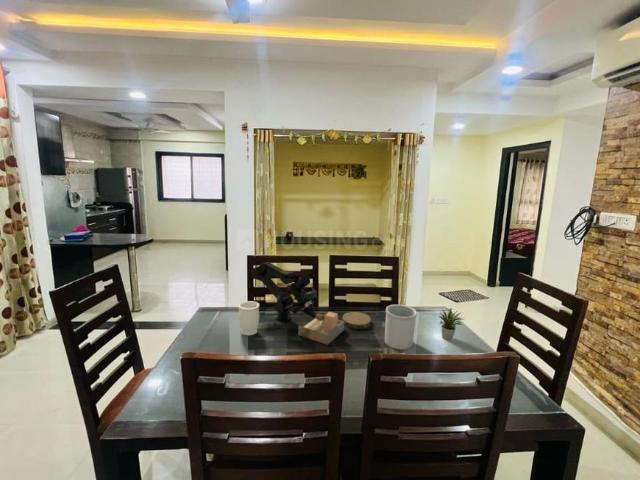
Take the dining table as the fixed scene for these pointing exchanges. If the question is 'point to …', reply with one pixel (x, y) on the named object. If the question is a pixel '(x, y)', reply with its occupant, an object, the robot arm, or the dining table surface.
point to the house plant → (449, 324)
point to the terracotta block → (330, 321)
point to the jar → (248, 317)
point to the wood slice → (356, 320)
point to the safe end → (328, 337)
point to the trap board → (312, 327)
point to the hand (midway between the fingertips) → (315, 317)
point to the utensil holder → (399, 326)
